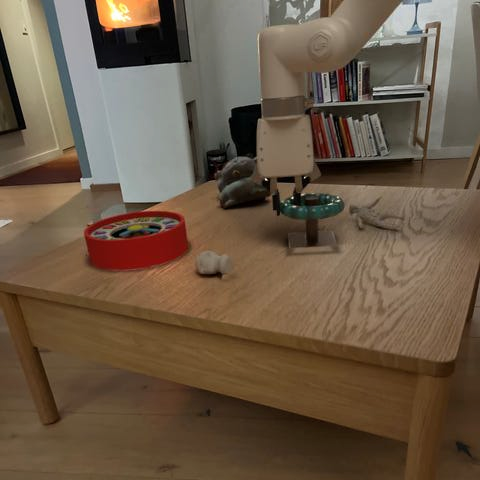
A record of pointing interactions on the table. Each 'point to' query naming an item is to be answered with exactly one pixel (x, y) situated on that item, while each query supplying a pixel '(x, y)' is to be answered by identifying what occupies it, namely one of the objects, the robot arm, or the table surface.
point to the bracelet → (313, 207)
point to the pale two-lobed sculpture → (214, 263)
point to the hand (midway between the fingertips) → (287, 212)
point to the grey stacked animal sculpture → (239, 182)
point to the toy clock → (136, 240)
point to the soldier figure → (373, 215)
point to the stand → (311, 232)
